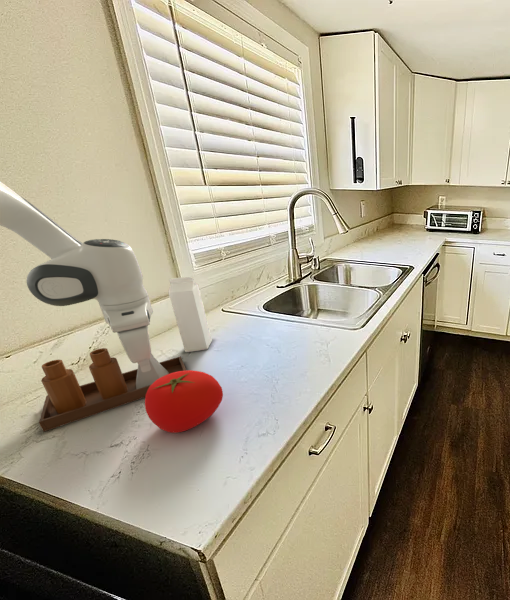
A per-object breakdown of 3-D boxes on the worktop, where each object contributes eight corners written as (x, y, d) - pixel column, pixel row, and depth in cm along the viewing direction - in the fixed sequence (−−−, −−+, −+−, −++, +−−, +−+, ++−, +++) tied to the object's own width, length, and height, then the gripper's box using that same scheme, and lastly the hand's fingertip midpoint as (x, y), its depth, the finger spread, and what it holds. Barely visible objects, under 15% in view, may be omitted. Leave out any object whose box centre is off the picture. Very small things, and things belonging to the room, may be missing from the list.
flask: (141, 376, 84) (129, 342, 80) (173, 370, 86) (163, 337, 83) (130, 392, 78) (117, 356, 74) (166, 386, 80) (154, 350, 76)
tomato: (181, 400, 75) (168, 358, 71) (237, 404, 74) (226, 361, 70) (135, 441, 64) (116, 393, 60) (200, 447, 63) (185, 398, 58)
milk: (207, 349, 98) (189, 279, 90) (184, 352, 96) (164, 281, 88) (212, 340, 103) (196, 273, 95) (190, 343, 102) (172, 275, 93)
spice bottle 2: (102, 404, 74) (83, 359, 70) (102, 394, 78) (84, 350, 74) (129, 396, 77) (112, 352, 73) (128, 386, 81) (112, 344, 76)
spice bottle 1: (56, 419, 70) (33, 372, 66) (59, 408, 74) (37, 362, 69) (86, 410, 73) (66, 364, 68) (87, 399, 76) (68, 354, 72)
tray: (43, 431, 67) (38, 422, 66) (50, 404, 75) (46, 395, 74) (190, 382, 82) (187, 373, 81) (183, 363, 90) (180, 356, 89)
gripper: (110, 300, 80) (126, 349, 85) (110, 328, 66) (130, 386, 71) (141, 295, 84) (156, 342, 89) (148, 320, 69) (165, 375, 74)
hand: (144, 362), depth 80 cm, fingers open, 8 cm apart
